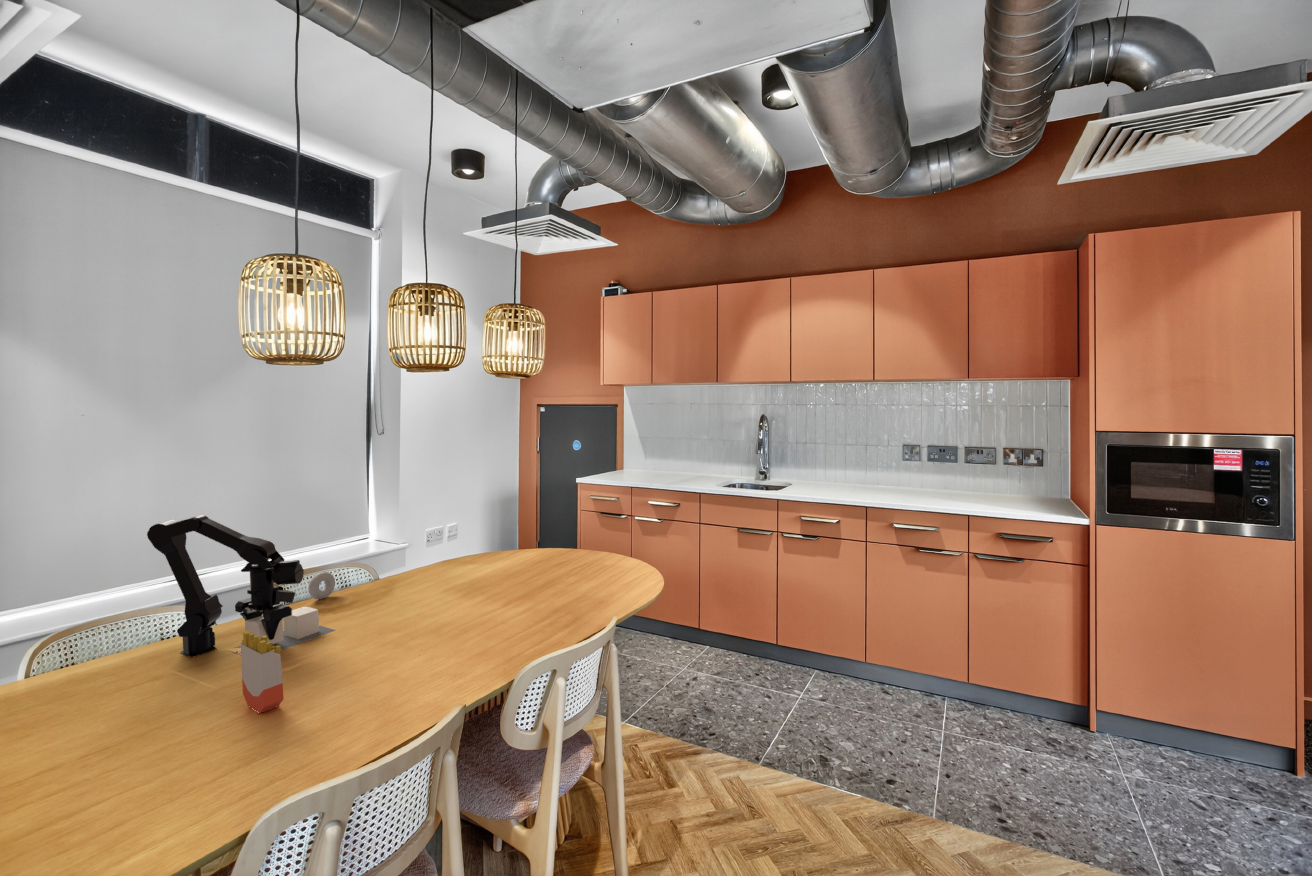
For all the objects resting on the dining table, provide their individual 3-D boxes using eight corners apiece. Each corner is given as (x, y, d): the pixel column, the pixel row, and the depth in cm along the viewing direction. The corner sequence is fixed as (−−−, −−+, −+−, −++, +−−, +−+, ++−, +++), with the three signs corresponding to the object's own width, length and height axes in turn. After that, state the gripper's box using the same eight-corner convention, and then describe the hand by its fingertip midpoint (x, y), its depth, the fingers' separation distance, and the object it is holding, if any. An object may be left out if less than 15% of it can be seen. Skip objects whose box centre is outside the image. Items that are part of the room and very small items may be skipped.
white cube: (259, 648, 168) (258, 624, 168) (246, 644, 171) (244, 620, 171) (283, 640, 174) (282, 617, 174) (270, 636, 177) (269, 613, 177)
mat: (255, 660, 164) (254, 659, 164) (227, 651, 170) (227, 650, 170) (336, 630, 185) (336, 629, 185) (308, 623, 192) (308, 622, 192)
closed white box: (297, 639, 178) (296, 616, 178) (284, 635, 181) (283, 612, 181) (319, 631, 184) (318, 609, 184) (306, 627, 187) (305, 606, 187)
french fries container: (264, 695, 144) (260, 624, 143) (285, 708, 138) (282, 634, 137) (243, 703, 141) (239, 630, 139) (264, 717, 135) (260, 640, 133)
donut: (313, 603, 210) (312, 576, 210) (306, 602, 211) (305, 575, 211) (337, 595, 219) (336, 568, 219) (331, 594, 221) (330, 567, 220)
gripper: (308, 582, 175) (311, 633, 176) (272, 573, 183) (274, 622, 184) (269, 592, 165) (272, 647, 166) (232, 583, 173) (235, 635, 174)
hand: (264, 637), depth 173 cm, fingers closed on white cube, 7 cm apart
